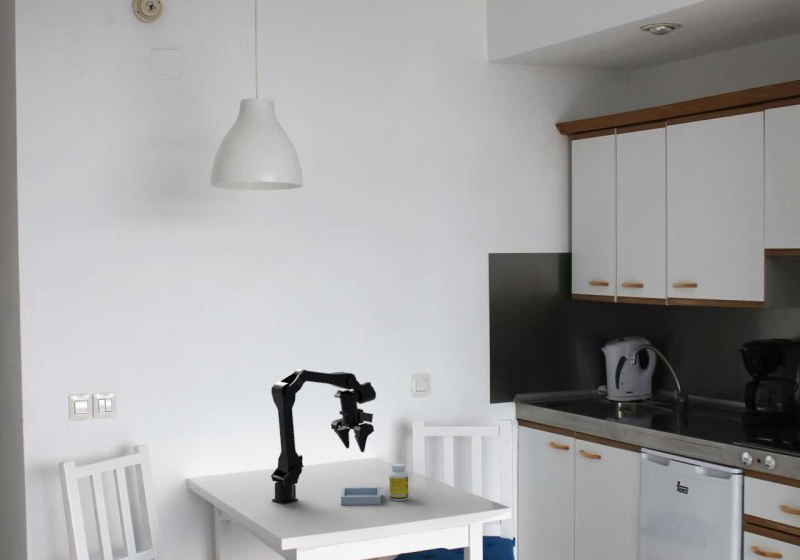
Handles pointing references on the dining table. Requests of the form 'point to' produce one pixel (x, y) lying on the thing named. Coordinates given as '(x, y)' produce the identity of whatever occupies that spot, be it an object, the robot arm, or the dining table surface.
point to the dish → (360, 496)
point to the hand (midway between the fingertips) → (355, 450)
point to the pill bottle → (398, 483)
